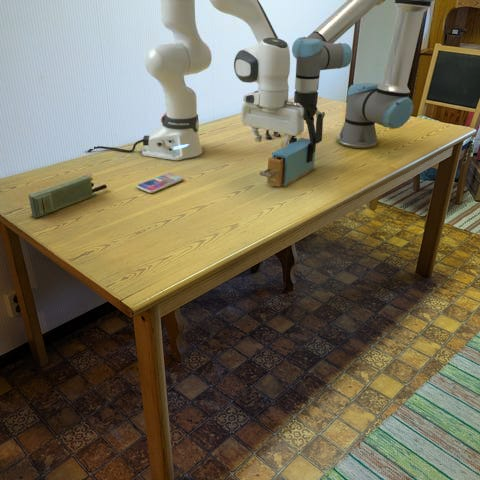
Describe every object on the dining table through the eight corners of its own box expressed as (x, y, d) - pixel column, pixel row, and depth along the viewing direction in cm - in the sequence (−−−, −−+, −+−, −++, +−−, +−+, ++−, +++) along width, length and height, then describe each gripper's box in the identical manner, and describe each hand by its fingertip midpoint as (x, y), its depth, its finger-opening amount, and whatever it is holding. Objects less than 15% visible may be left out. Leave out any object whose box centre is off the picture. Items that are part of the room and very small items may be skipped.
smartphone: (184, 177, 167) (150, 191, 157) (184, 180, 167) (151, 194, 157) (168, 171, 171) (134, 185, 161) (168, 174, 171) (135, 188, 161)
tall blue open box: (285, 186, 164) (287, 156, 159) (270, 182, 167) (271, 152, 162) (313, 169, 177) (316, 141, 172) (299, 165, 180) (301, 137, 175)
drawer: (270, 191, 158) (271, 166, 154) (258, 188, 160) (259, 162, 156) (306, 170, 174) (308, 146, 170) (295, 167, 176) (296, 143, 172)
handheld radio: (30, 215, 144) (102, 188, 161) (37, 219, 142) (109, 191, 159) (26, 193, 140) (100, 168, 157) (33, 197, 138) (107, 171, 155)
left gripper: (309, 101, 144) (306, 148, 151) (250, 91, 155) (249, 135, 161) (298, 106, 140) (295, 154, 147) (238, 95, 150) (238, 140, 157)
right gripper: (338, 92, 160) (330, 162, 171) (287, 84, 170) (283, 150, 181) (327, 97, 155) (320, 168, 166) (275, 88, 164) (272, 156, 176)
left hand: (271, 144), depth 154 cm, fingers open, 8 cm apart
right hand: (301, 159), depth 173 cm, fingers closed on tall blue open box, 6 cm apart
